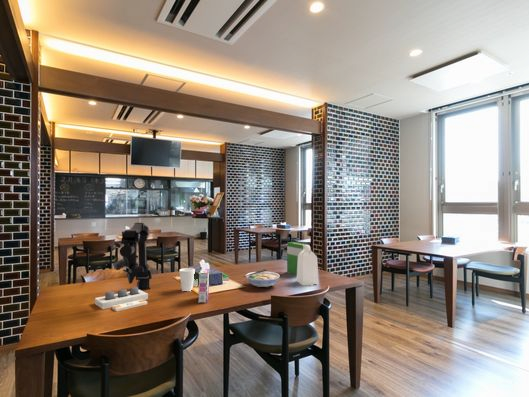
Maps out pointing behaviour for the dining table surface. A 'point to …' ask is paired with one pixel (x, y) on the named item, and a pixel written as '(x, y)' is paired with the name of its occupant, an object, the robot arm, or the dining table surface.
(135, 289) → the button
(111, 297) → the button
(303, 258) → the milk
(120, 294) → the button middle
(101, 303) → the button board
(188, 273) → the foam cup
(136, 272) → the robot arm
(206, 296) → the candy bar box
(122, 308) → the pattern card
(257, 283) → the ramen bowl
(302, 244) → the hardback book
